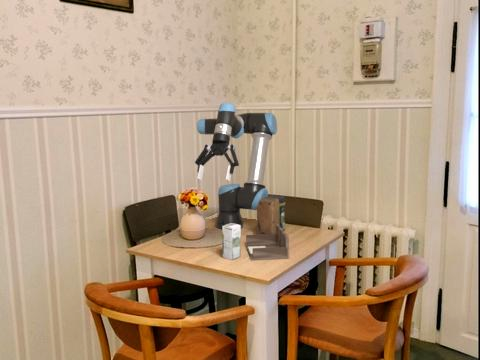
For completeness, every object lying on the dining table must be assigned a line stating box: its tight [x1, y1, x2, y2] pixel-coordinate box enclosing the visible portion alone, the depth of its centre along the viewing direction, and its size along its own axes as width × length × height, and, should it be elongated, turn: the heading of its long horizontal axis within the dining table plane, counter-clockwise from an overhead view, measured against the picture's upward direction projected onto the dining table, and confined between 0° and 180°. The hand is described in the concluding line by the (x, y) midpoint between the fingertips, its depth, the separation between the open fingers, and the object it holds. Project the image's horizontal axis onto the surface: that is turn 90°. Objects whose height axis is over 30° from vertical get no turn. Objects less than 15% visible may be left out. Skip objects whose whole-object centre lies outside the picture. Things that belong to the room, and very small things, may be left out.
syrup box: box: [221, 223, 242, 261], centre depth 192 cm, size 6×6×14 cm
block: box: [256, 197, 280, 235], centre depth 223 cm, size 11×8×20 cm
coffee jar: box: [268, 194, 287, 231], centre depth 237 cm, size 10×8×19 cm
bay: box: [244, 224, 290, 261], centre depth 200 cm, size 22×16×10 cm
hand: (213, 180), depth 192 cm, fingers open, 13 cm apart
